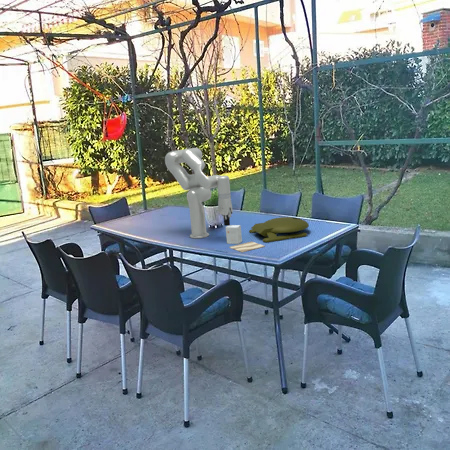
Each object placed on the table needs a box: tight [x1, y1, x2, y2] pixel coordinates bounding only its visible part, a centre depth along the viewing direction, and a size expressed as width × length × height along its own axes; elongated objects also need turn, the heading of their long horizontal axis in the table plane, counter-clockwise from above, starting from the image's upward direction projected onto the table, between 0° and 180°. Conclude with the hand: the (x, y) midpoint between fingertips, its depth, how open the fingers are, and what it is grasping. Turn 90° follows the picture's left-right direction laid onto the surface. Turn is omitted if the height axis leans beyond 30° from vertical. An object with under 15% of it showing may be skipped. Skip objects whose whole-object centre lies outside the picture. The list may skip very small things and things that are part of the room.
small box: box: [225, 224, 243, 245], centre depth 288 cm, size 8×6×10 cm
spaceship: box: [248, 216, 310, 243], centre depth 301 cm, size 35×31×10 cm
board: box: [228, 241, 266, 253], centre depth 277 cm, size 14×16×1 cm
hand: (227, 225), depth 293 cm, fingers closed
